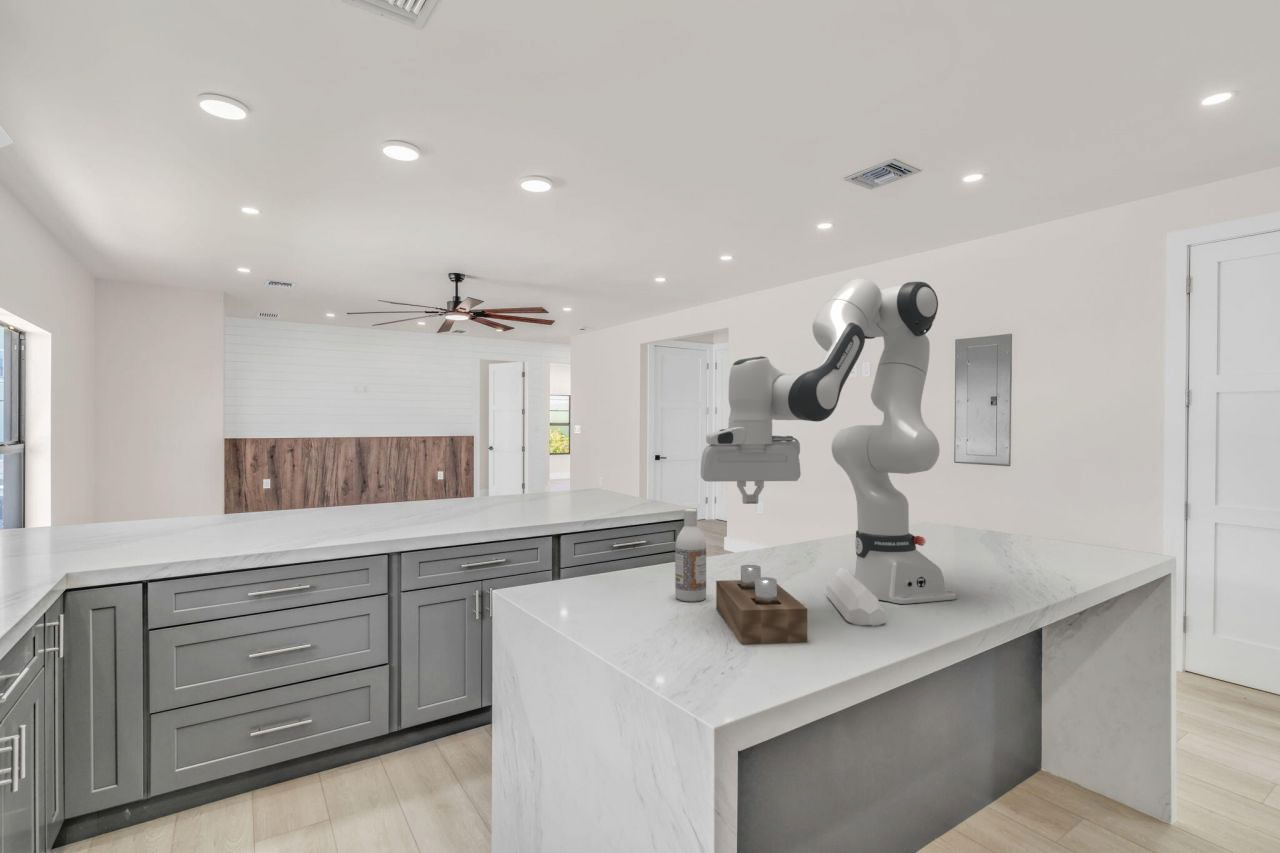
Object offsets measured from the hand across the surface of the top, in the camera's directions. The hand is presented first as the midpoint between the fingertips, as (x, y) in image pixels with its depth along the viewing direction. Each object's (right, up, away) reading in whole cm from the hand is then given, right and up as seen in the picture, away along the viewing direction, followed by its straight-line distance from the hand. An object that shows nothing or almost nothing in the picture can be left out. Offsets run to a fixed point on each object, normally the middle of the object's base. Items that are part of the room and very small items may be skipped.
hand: (750, 503), depth 129 cm
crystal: (+23, -23, +4) cm, 33 cm away
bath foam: (-11, -23, +14) cm, 29 cm away
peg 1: (0, -19, 0) cm, 19 cm away
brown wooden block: (0, -23, -6) cm, 24 cm away
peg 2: (+1, -19, -11) cm, 22 cm away
